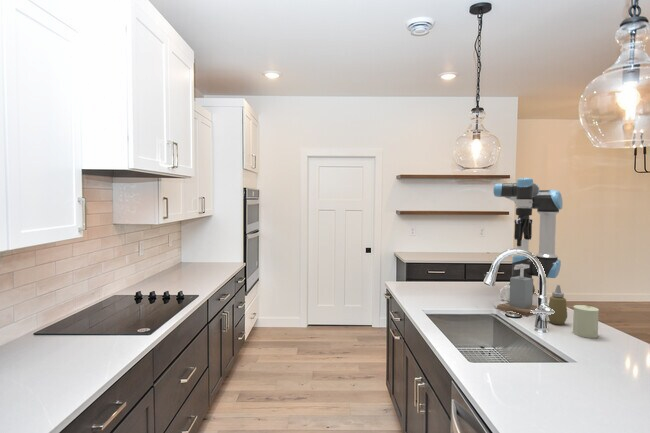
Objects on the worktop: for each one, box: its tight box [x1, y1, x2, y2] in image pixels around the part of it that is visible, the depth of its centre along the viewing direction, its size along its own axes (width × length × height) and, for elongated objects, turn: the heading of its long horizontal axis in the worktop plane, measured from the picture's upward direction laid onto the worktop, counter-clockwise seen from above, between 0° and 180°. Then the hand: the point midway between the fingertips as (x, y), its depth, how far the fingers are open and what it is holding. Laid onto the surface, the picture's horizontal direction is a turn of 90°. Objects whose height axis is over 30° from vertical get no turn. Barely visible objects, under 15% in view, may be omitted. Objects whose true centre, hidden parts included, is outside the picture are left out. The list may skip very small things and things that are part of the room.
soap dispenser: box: [508, 276, 534, 309], centre depth 201 cm, size 8×8×15 cm
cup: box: [499, 284, 510, 302], centre depth 221 cm, size 7×10×8 cm
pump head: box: [514, 264, 529, 279], centre depth 199 cm, size 10×4×10 cm, turn 125°
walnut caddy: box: [496, 301, 538, 317], centre depth 201 cm, size 18×16×2 cm
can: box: [572, 304, 600, 339], centre depth 165 cm, size 9×9×12 cm
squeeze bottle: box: [547, 284, 568, 326], centre depth 179 cm, size 8×8×18 cm
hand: (522, 252), depth 200 cm, fingers open, 5 cm apart
